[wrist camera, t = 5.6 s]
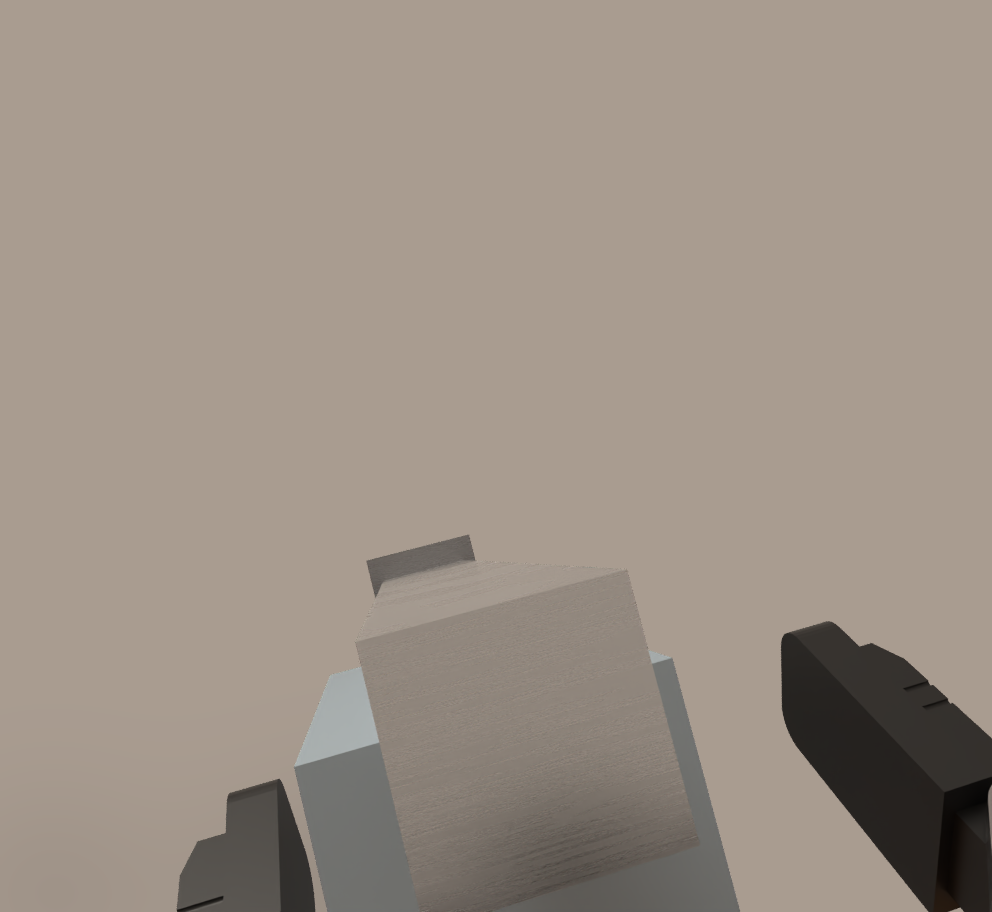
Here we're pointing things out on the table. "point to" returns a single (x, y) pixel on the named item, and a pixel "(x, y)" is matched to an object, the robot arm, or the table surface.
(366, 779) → the stand
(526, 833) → the shaft
